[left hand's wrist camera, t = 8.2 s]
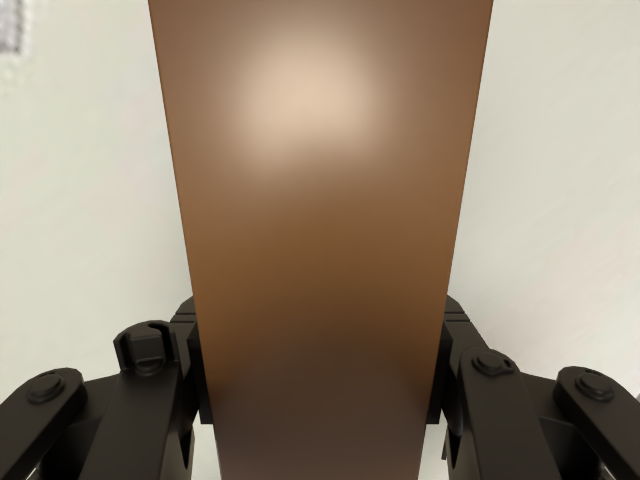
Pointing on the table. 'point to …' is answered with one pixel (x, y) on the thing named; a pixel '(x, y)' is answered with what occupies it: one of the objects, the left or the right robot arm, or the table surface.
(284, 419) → the bar
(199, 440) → the table surface
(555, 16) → the table surface
